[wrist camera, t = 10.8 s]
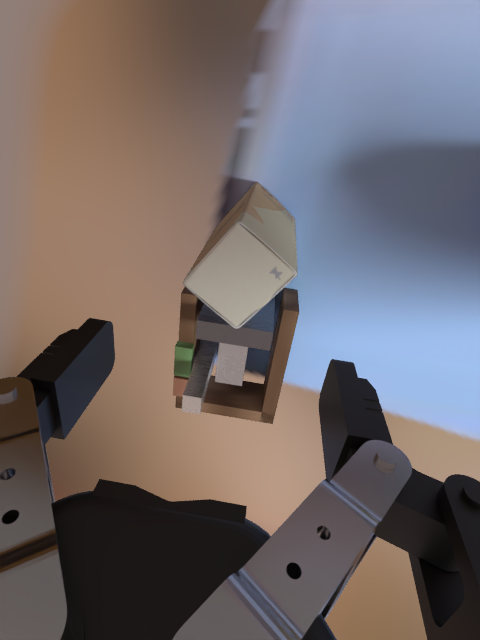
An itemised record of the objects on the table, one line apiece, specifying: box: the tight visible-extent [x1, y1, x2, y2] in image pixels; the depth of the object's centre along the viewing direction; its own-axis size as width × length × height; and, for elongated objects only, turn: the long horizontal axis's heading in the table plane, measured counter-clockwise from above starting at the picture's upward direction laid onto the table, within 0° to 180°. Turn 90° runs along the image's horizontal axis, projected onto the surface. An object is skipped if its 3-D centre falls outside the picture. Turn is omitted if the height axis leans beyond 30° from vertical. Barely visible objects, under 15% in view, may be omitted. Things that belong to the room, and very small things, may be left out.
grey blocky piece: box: [182, 297, 275, 414], centre depth 30 cm, size 6×7×8 cm
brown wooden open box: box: [173, 287, 299, 424], centre depth 32 cm, size 9×12×5 cm
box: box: [183, 182, 297, 329], centre depth 24 cm, size 5×4×11 cm
